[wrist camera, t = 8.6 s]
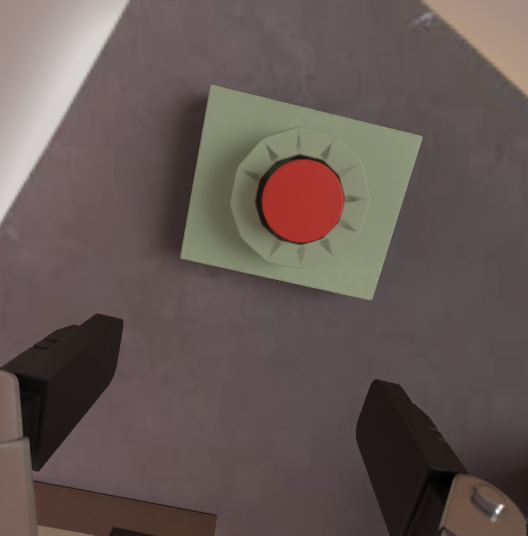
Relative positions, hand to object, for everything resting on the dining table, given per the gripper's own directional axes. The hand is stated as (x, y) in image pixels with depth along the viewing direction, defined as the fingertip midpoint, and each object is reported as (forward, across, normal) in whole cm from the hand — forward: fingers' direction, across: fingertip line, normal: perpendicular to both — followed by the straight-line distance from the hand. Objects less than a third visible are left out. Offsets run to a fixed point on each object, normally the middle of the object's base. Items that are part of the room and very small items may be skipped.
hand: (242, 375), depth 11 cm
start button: (+7, -1, -6) cm, 9 cm away
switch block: (+11, -1, -6) cm, 12 cm away
